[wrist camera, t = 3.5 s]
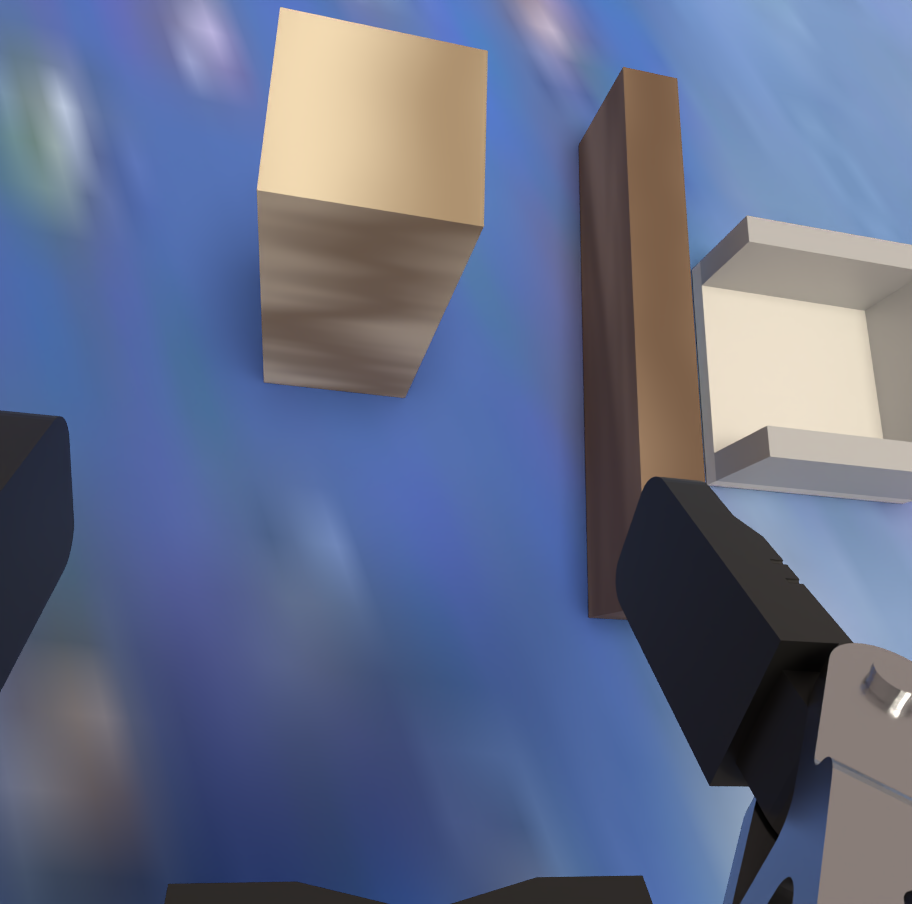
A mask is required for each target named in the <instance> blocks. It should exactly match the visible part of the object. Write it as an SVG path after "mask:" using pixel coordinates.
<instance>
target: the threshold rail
mask: <svg viewBox="0 0 912 904" xmlns="http://www.w3.org/2000/svg"><path fill="white" fill-rule="evenodd" d="M579 179H580V226H581V274H582V322H583V369H584V417H585V465H586V512H587V560H588V608H589V618H604V619H623V620H627V618H626V616H625V614H624V612H623V610H622V608H621V606H620V604H619V601H618V598H617V593H616V584H615V578H616V568H617V563H618V560H619V557H620V554H621V551H622V548H623V545H624V542H625V539H626V536H627V533H628V530H629V527H630V524H631V522H632V519H633V516H634V513H635V510H636V507H637V504H638V501H639V498H640V495H641V492H642V490H643V488H644V486H645V484H646V483H647V481H648V480H649V479H650V478H652V477H655V476H657V477H668V478H678V479H688V480H698V481H703V482H705V473H704V458H703V444H702V430H701V415H700V401H699V387H698V372H697V358H696V343H695V329H694V315H693V300H692V286H691V271H690V257H689V243H688V228H687V214H686V199H685V185H684V171H683V156H682V142H681V127H680V113H679V99H678V84H677V78H672V77H668V76H663V75H658V74H654V73H649V72H644V71H640V70H635V69H630V68H626V67H623V68H622V70H621V72H620V73H619V75H618V77H617V79H616V80H615V82H614V84H613V86H612V87H611V89H610V91H609V93H608V95H607V96H606V98H605V100H604V102H603V103H602V105H601V107H600V109H599V110H598V112H597V114H596V116H595V117H594V119H593V121H592V123H591V124H590V126H589V128H588V130H587V131H586V133H585V135H584V137H583V139H582V140H581V142H580V144H579Z"/></svg>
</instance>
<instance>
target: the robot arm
mask: <svg viewBox="0 0 912 904" xmlns="http://www.w3.org/2000/svg"><path fill="white" fill-rule="evenodd" d="M73 531H74V513H73V496H72V478H71V460H70V443H69V431H68V426H67V423H66V421H65V419H64V418H63V417H61V416H50V415H40V414H30V413H20V412H10V411H0V691H1V689H2V688H3V686H4V684H5V682H6V680H7V678H8V676H9V674H10V672H11V670H12V668H13V666H14V665H15V663H16V661H17V659H18V657H19V655H20V653H21V651H22V649H23V647H24V645H25V643H26V642H27V640H28V638H29V636H30V634H31V632H32V630H33V628H34V626H35V624H36V622H37V621H38V619H39V617H40V615H41V613H42V611H43V609H44V607H45V605H46V603H47V601H48V599H49V598H50V596H51V594H52V592H53V590H54V588H55V586H56V584H57V582H58V580H59V578H60V577H61V575H62V573H63V571H64V569H65V567H66V564H67V561H68V558H69V555H70V551H71V546H72V540H73ZM782 562H783V560H782V558H781V557H780V556H779V555H778V554H777V553H776V551H775V550H774V549H773V548H772V547H771V546H770V544H769V543H768V542H767V541H766V540H765V538H764V537H763V536H761V535H760V534H758V533H757V532H756V531H754V530H753V529H751V528H750V527H749V526H747V525H746V524H744V523H743V522H741V521H740V520H739V519H737V518H736V517H734V516H733V515H732V513H731V512H730V511H729V510H728V509H727V507H726V506H725V505H724V504H723V503H722V501H721V500H720V499H719V498H718V496H717V495H716V494H715V493H714V492H713V490H712V489H711V488H710V487H709V486H708V485H707V484H706V483H705V482H703V481H698V480H688V479H678V478H668V477H657V476H655V477H652V478H650V479H649V480H648V481H647V483H646V484H645V486H644V488H643V490H642V492H641V495H640V498H639V501H638V504H637V507H636V510H635V513H634V516H633V519H632V522H631V524H630V527H629V530H628V533H627V536H626V539H625V542H624V545H623V548H622V551H621V554H620V557H619V560H618V563H617V568H616V578H615V584H616V593H617V598H618V601H619V604H620V606H621V608H622V610H623V612H624V614H625V616H626V618H627V620H628V622H629V624H630V626H631V628H632V630H633V632H634V634H635V636H636V638H637V640H638V642H639V644H640V646H641V648H642V650H643V652H644V654H645V657H646V659H647V661H648V663H649V665H650V667H651V669H652V671H653V673H654V675H655V677H656V679H657V681H658V683H659V685H660V687H661V689H662V691H663V693H664V695H665V697H666V699H667V701H668V703H669V705H670V707H671V709H672V711H673V713H674V715H675V717H676V719H677V721H678V723H679V725H680V727H681V729H682V731H683V733H684V735H685V737H686V739H687V741H688V743H689V745H690V747H691V749H692V751H693V753H694V755H695V757H696V759H697V761H698V764H699V766H700V768H701V770H702V772H703V774H704V776H705V778H706V780H707V782H708V784H709V786H749V787H750V789H751V791H752V793H753V795H754V798H753V800H752V802H751V804H750V806H749V807H748V809H747V811H746V814H745V816H744V819H743V823H742V827H741V831H740V836H739V840H738V844H737V848H736V852H735V856H734V860H733V864H732V868H731V873H730V877H729V881H728V885H727V889H726V893H725V897H724V901H723V904H912V661H910V660H908V659H906V658H904V657H902V656H900V655H898V654H896V653H893V652H891V651H888V650H886V649H883V648H879V647H876V646H872V645H867V644H859V643H853V642H852V641H851V639H850V638H849V637H848V636H847V635H846V634H845V632H844V631H843V630H842V629H841V628H840V627H839V625H838V624H837V623H836V622H835V621H834V619H833V618H832V617H831V616H830V615H829V614H828V612H827V611H826V610H825V609H824V608H823V607H822V605H821V604H820V603H819V602H818V601H817V600H816V598H815V597H814V596H813V595H812V594H811V592H810V591H809V590H808V589H807V588H806V587H805V585H804V584H799V578H798V577H797V576H796V575H795V574H794V573H793V571H792V570H791V569H790V568H789V567H788V565H785V564H783V563H782ZM164 904H387V903H383V902H379V901H375V900H370V899H366V898H362V897H358V896H354V895H350V894H346V893H341V892H337V891H333V890H329V889H325V888H321V887H317V886H312V885H308V884H304V883H300V882H248V883H191V884H168V888H167V893H166V898H165V903H164ZM452 904H653V903H652V901H651V898H650V895H649V892H648V890H647V887H646V884H645V881H644V879H643V876H590V877H537V878H533V879H530V880H527V881H524V882H520V883H517V884H514V885H511V886H507V887H504V888H501V889H498V890H494V891H491V892H488V893H485V894H482V895H478V896H475V897H472V898H469V899H465V900H462V901H459V902H456V903H452Z"/></svg>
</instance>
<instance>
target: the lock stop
mask: <svg viewBox="0 0 912 904" xmlns="http://www.w3.org/2000/svg"><path fill="white" fill-rule="evenodd" d="M487 56H488V51H486V50H481V49H476V48H471V47H467V46H462V45H457V44H452V43H448V42H443V41H438V40H433V39H429V38H424V37H419V36H414V35H410V34H405V33H400V32H395V31H391V30H386V29H381V28H377V27H372V26H367V25H362V24H358V23H353V22H348V21H343V20H339V19H334V18H329V17H324V16H320V15H315V14H310V13H305V12H301V11H296V10H291V9H286V8H282V7H280V13H279V21H278V29H277V37H276V45H275V52H274V60H273V68H272V76H271V84H270V92H269V99H268V107H267V115H266V123H265V131H264V139H263V146H262V154H261V162H260V170H259V178H258V186H257V205H258V233H259V260H260V288H261V316H262V343H263V371H264V382H265V383H274V384H283V385H292V386H301V387H310V388H319V389H328V390H337V391H346V392H355V393H364V394H373V395H382V396H391V397H400V398H405V397H406V395H407V392H408V390H409V388H410V386H411V384H412V382H413V379H414V377H415V375H416V373H417V371H418V368H419V366H420V364H421V362H422V360H423V358H424V355H425V353H426V351H427V349H428V347H429V345H430V342H431V340H432V338H433V336H434V334H435V331H436V329H437V327H438V325H439V323H440V321H441V318H442V316H443V314H444V312H445V310H446V308H447V305H448V303H449V301H450V299H451V297H452V294H453V292H454V290H455V288H456V286H457V284H458V281H459V279H460V277H461V275H462V273H463V271H464V268H465V266H466V264H467V262H468V260H469V257H470V255H471V253H472V251H473V249H474V247H475V244H476V242H477V240H478V238H479V236H480V233H481V231H482V229H483V227H484V190H485V145H486V101H487Z"/></svg>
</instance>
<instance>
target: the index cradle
mask: <svg viewBox="0 0 912 904" xmlns="http://www.w3.org/2000/svg"><path fill="white" fill-rule="evenodd" d="M692 280H693V294H694V308H695V322H696V337H697V351H698V365H699V379H700V394H701V408H702V422H703V436H704V451H705V465H706V479H707V485H710V486H721V487H731V488H742V489H752V490H763V491H773V492H784V493H794V494H805V495H815V496H826V497H836V498H847V499H857V500H868V501H878V502H889V503H899V504H904V503H907V502H911V501H912V245H909V244H903V243H897V242H892V241H886V240H881V239H875V238H869V237H864V236H858V235H852V234H847V233H841V232H836V231H830V230H824V229H819V228H813V227H808V226H802V225H796V224H791V223H785V222H780V221H774V220H768V219H763V218H757V217H752V216H746V217H745V218H744V219H743V220H742V221H741V222H740V223H739V224H738V225H737V226H736V227H735V228H734V229H733V230H732V231H731V232H730V233H729V234H728V235H727V236H726V237H725V238H724V239H723V240H722V241H721V242H720V243H719V244H718V245H717V246H716V247H714V248H713V249H712V250H711V251H710V252H709V253H708V254H707V255H706V256H705V257H704V258H703V259H702V260H701V261H700V262H699V263H698V264H697V265H696V266H695V267H694V268H693V269H692Z"/></svg>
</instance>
